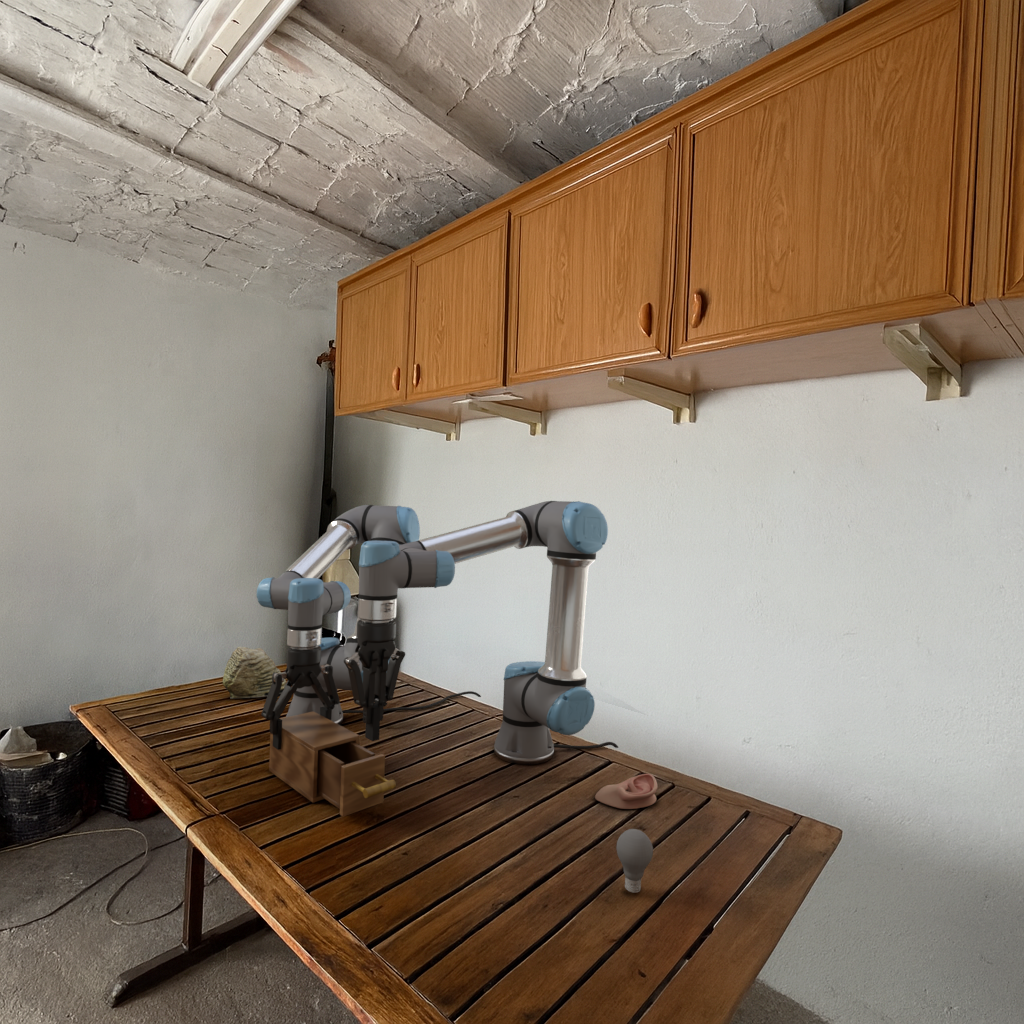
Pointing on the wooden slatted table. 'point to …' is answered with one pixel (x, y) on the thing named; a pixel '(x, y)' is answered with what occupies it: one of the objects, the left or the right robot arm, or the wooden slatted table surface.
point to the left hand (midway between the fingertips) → (300, 741)
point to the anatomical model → (630, 793)
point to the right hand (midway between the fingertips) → (372, 738)
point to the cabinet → (305, 750)
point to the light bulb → (634, 857)
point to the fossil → (249, 673)
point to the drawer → (351, 777)
